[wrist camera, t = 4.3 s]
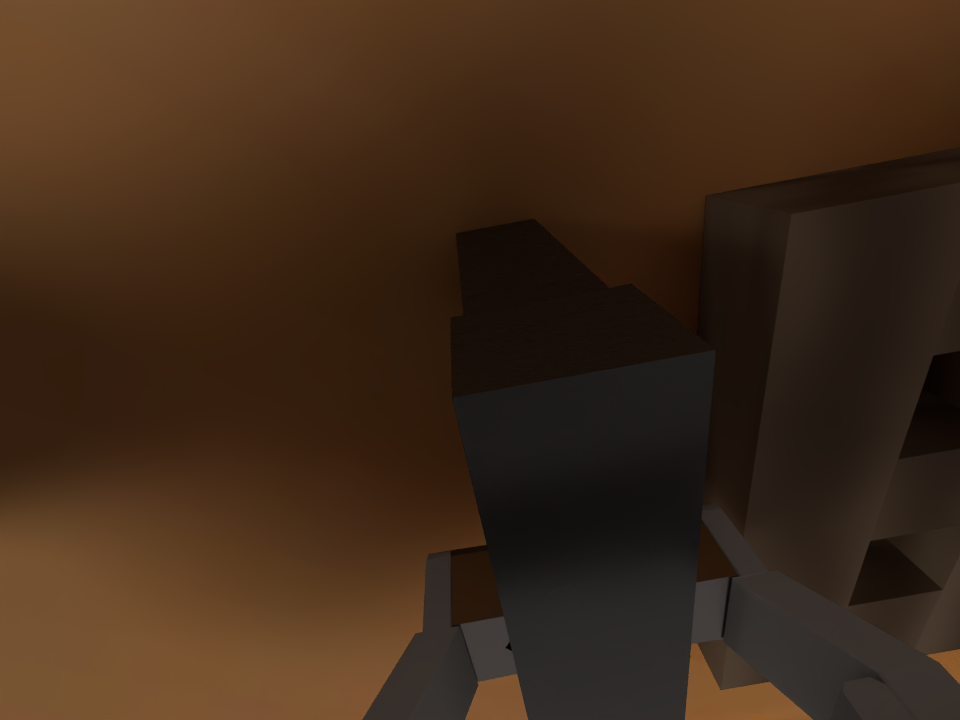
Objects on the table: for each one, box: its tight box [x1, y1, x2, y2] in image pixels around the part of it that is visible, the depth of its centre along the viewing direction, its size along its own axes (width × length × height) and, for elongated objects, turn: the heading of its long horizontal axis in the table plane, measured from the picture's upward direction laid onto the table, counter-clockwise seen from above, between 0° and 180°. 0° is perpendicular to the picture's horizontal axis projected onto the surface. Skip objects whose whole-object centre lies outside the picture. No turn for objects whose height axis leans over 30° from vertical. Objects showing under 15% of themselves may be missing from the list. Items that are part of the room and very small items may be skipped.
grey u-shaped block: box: [450, 219, 716, 720], centre depth 12 cm, size 3×11×10 cm, turn 10°
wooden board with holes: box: [698, 148, 960, 690], centre depth 17 cm, size 14×22×4 cm, turn 10°
